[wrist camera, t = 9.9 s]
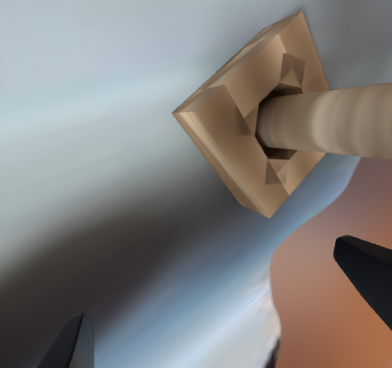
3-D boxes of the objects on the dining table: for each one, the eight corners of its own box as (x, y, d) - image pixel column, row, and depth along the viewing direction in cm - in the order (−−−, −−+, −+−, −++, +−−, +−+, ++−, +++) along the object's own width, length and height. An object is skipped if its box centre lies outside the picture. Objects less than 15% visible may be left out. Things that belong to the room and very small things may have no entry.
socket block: (240, 204, 24) (269, 218, 21) (171, 113, 19) (195, 111, 15) (307, 130, 26) (344, 131, 23) (263, 29, 21) (302, 11, 17)
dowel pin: (238, 148, 21) (469, 175, 10) (237, 100, 20) (495, 66, 9) (271, 142, 23) (497, 160, 12) (271, 98, 22) (521, 69, 11)
